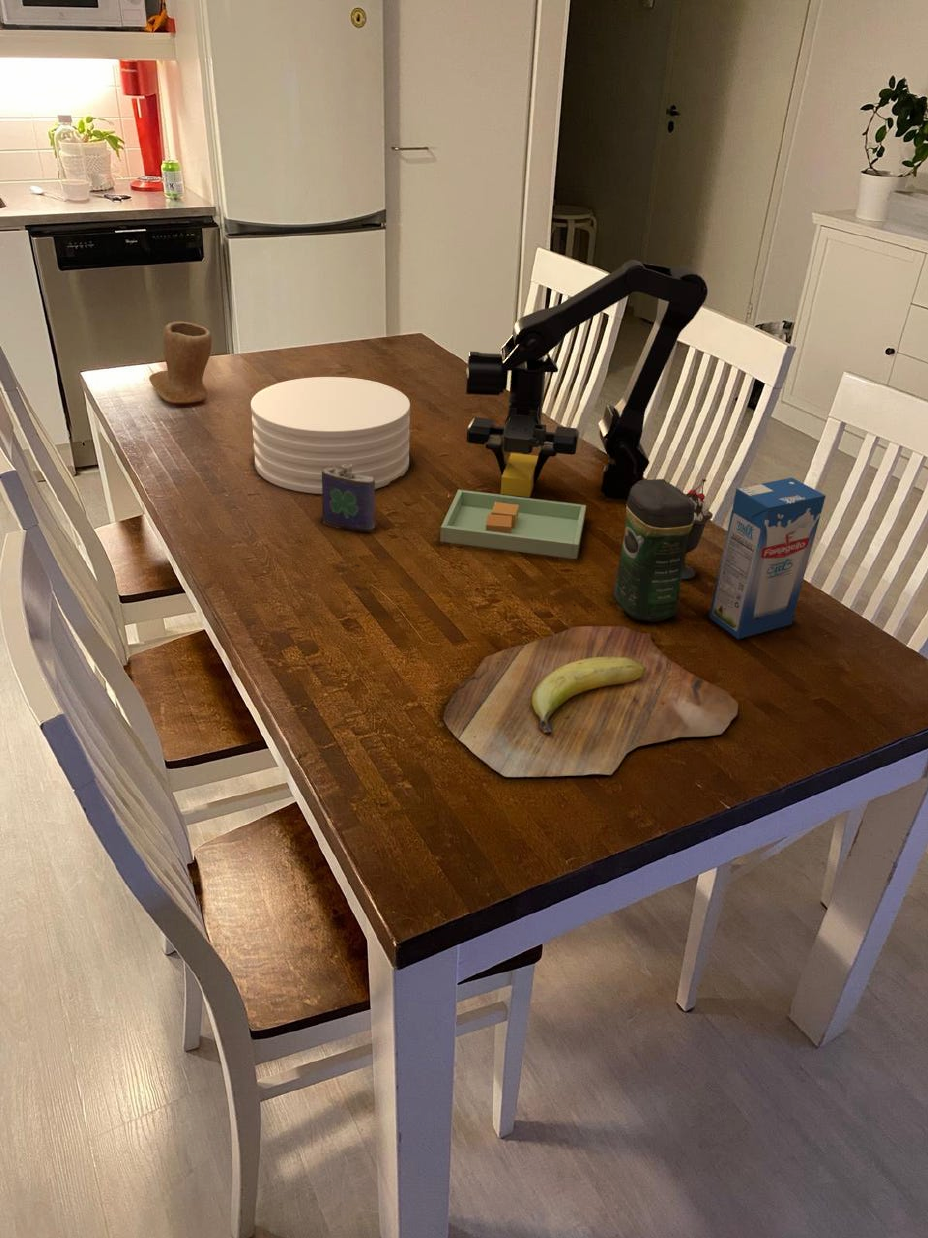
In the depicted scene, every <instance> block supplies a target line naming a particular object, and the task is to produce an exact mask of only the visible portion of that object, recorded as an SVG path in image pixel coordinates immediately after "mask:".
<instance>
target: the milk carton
mask: <svg viewBox="0 0 928 1238" xmlns="http://www.w3.org/2000/svg"><path fill="white" fill-rule="evenodd" d="M826 497H827V496H826V495H825V494H823V493H822V492H820V491H819V490H816V489H814V488H813V487H811V486H809V485H807V484H805V483H803V482H802V481H799V480H798V479H795V478H794V477H788V478H782V479H777V480H773V481H767V482H763V483H762V482H761V483H757V484H752V485H747V486H743V487H738V488H736V489H735V492H734V497H733V503H732V507H731V512H730V516H729V520H728V521H729V522H728V526H727V531H726V535H725V539H724V544H723V550H722V555H721V559H720V564H719V569H718V572H717V577H716V581H715V582H716V583H715V586H714V587H715V588H714V591H713V592H714V593H713V595H712V600H711V606H710V611H709V615H708V618H709V619H710V620H712V621H714V623H716V624H717V625H719V627H721V628H722V629H724V630H725V631H727V632H728V633H729V634H730V635H732V636H733V637H734V638H735V639H737V640H741V639H744V638H747V637H748V638H749V637H751V636H755V635H758V634H762V633H765V632H768V631H773V630H776V629H779V628H783V627H787V626H791V625H792V623H793V620H794V616H795V612H796V608H797V606H798V601H799V597H800V593H801V590H802V586H803V582H804V579H805V575H806V571H807V568H808V564H809V561H810V556H811V552H812V548H813V545H814V542H815V537H816V533H817V529H818V526H819V523H820V519H821V514H822V512H823V507H824V504H825V500H826Z"/></svg>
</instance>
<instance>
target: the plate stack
mask: <svg viewBox="0 0 928 1238" xmlns="http://www.w3.org/2000/svg"><path fill="white" fill-rule="evenodd" d="M250 412H251V425H252V440H253V453H254V468H255V470H256V471H257V473H258V474H259V475H260V476H261V477H262V478H263V479H264V480H266V481H267V482H269V483H271V484H273V485H275V486H277V487H281V488H284V489H287V490H291V491H295V492H300V493H306V494H315V495H322V471H323V470H324V469H326V468H332V467H335V468H337V469H339V470H342V469H343V468H342V465H343V464H347V465H349V463H351V464H352V465H353V467H352V468H351V470H352V471H351V473H352V474H357V475H364V476H371V477H373V478H374V480H375V490H376V489H380V488H383V487H386V486H388V485H390V484H391V482H392V481H394V480H396V479H398V478H399V477H403V476H404V475H405V474H406V473H407V471H408V470H409V468H410V456H409V454H410V434H411V433H410V432H411V431H410V426H411V416H410V413H411V402H410V399H409V397H407V395H405V393H404V392H402V391H400V390H398V389H396V388H394V387H392V386H390V385H387V384H384V383H381V382H377V381H373V380H368V379H363V378H355V377H344V376H343V377H342V376H317V377H316V376H313V377H305V378H304V377H303V378H296V379H291V380H286V381H282V382H278V383H275V384H272V385H270V386H269V385H268V386H267V387H265V388H263V389H261V390H260V391H258V392H257V393H256V394H254V395H253V397H252V399H251V401H250Z"/></svg>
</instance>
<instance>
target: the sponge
mask: <svg viewBox="0 0 928 1238" xmlns="http://www.w3.org/2000/svg"><path fill="white" fill-rule="evenodd" d="M537 460H538V455H533V454H523V453H518V452H510V455H509V457H508V459H507V465H506V467H505V470H504V473H503V475H501V481H500V482H501V484H500V495H507V496H515V497H523V498H531V496H532V494H533V491H534V487H535V484H533V481H534V473H535V468H536V464H537Z"/></svg>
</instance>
